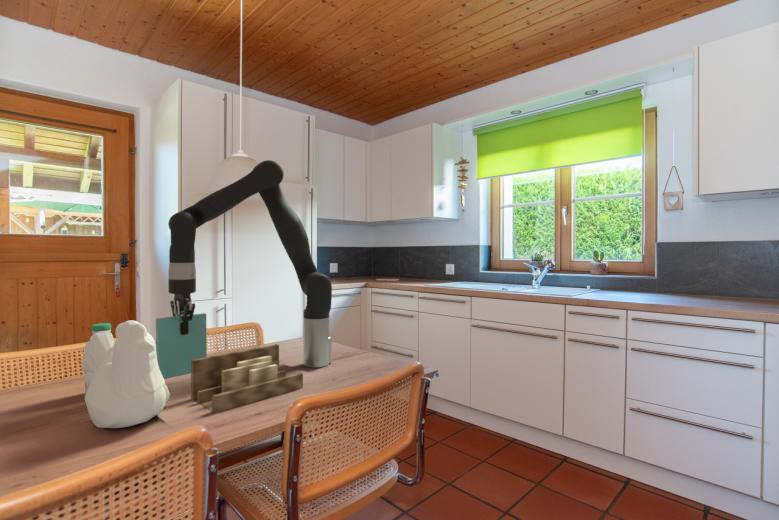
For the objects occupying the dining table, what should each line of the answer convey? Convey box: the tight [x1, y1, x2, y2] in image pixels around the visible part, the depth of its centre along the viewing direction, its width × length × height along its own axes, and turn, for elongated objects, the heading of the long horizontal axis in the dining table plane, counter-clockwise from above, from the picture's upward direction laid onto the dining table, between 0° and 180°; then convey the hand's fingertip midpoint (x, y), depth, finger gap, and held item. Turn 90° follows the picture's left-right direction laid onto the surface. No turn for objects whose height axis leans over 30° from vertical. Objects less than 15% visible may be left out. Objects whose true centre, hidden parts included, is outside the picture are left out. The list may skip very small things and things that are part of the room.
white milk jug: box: [81, 319, 171, 429], centre depth 100 cm, size 25×16×25 cm, turn 54°
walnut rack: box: [190, 343, 304, 414], centre depth 115 cm, size 26×14×12 cm, turn 138°
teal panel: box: [155, 312, 208, 380], centre depth 126 cm, size 14×2×18 cm, turn 138°
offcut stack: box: [222, 356, 277, 393], centre depth 114 cm, size 15×4×9 cm, turn 138°
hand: (182, 333), depth 126 cm, fingers closed on teal panel, 2 cm apart
